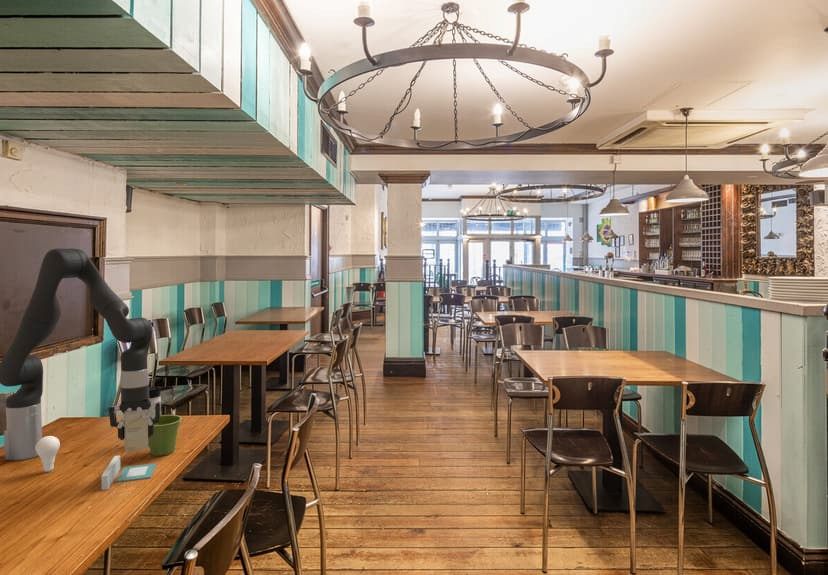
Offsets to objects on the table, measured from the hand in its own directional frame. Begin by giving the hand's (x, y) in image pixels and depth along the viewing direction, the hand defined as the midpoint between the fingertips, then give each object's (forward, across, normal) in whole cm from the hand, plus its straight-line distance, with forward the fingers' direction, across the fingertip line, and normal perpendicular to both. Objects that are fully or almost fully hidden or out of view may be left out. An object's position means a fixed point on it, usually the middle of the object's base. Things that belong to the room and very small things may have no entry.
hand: (136, 437), depth 154 cm
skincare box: (+3, 0, 0) cm, 3 cm away
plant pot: (+11, +5, +16) cm, 20 cm away
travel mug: (+11, 0, +28) cm, 30 cm away
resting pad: (+11, 0, 0) cm, 11 cm away
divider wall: (+11, -6, -2) cm, 13 cm away
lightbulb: (+11, -26, +10) cm, 30 cm away
